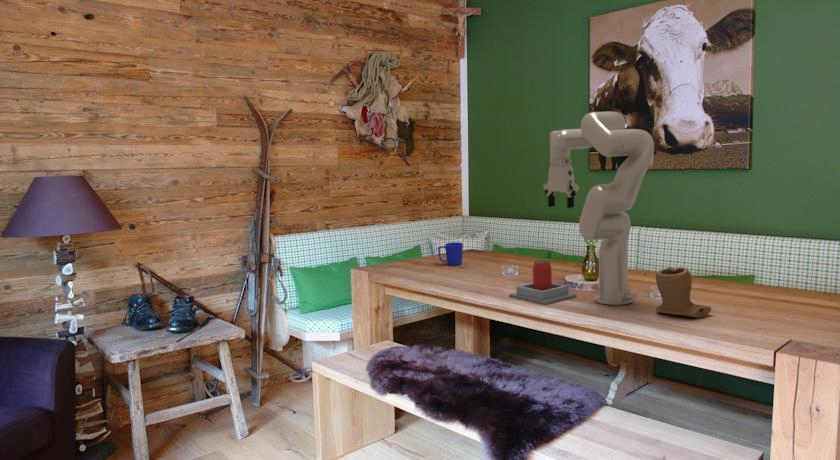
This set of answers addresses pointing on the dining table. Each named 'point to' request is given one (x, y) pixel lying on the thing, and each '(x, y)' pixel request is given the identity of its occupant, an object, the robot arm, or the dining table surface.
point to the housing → (542, 294)
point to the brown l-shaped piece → (678, 293)
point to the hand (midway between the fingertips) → (561, 207)
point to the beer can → (542, 275)
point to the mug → (452, 253)
